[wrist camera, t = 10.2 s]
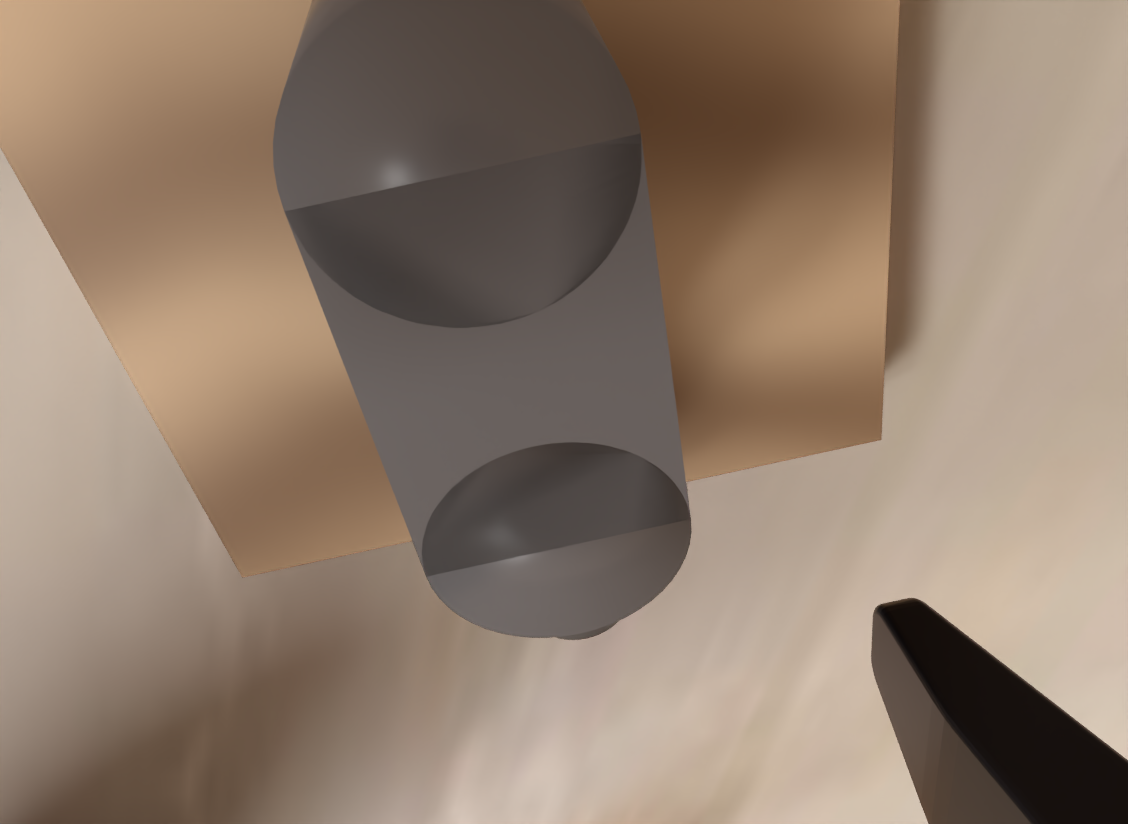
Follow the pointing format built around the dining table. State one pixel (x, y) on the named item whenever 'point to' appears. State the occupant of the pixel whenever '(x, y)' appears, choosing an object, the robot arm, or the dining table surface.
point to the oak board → (290, 304)
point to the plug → (493, 297)
